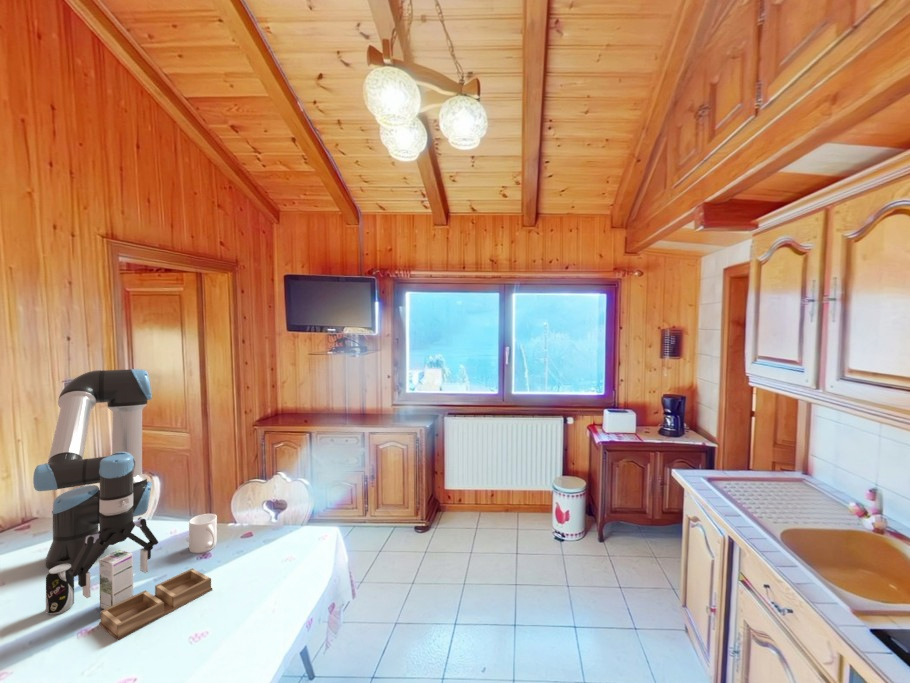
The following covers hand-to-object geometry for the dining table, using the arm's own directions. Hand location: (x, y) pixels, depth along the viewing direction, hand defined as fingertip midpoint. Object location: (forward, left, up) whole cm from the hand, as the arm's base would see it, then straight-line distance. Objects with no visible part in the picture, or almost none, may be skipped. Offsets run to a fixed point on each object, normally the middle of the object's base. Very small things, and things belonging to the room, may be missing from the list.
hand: (116, 583), depth 118 cm
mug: (-9, +30, -7) cm, 32 cm away
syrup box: (0, 0, -7) cm, 7 cm away
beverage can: (-11, -9, -7) cm, 16 cm away
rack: (+11, +6, -6) cm, 14 cm away
